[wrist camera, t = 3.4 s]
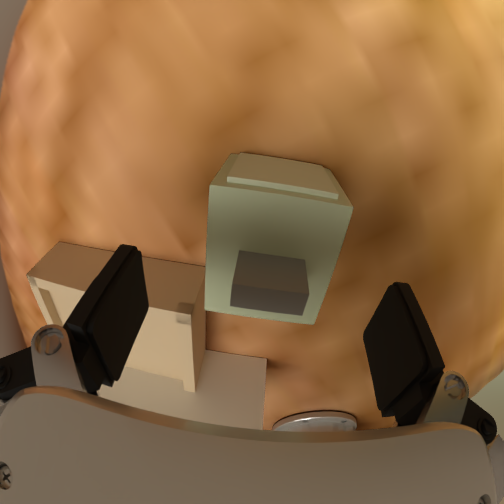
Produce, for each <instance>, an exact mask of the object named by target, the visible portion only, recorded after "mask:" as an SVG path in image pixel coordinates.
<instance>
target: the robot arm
mask: <svg viewBox="0 0 504 504" xmlns="http://www.w3.org/2000/svg"><path fill="white" fill-rule="evenodd" d="M148 309H149V301H148V295H147V289H146V283H145V276H144V269H143V262H142V254H141V251H138V250H137V247H136V246H131V245H124V244H122V245H120V246H119V247H118V249H117V250H116V251H115V253H114V254H113V255H112V257H111V258H110V259H109V261H108V262H107V263H106V265H105V266H104V267H103V269H102V270H101V272H100V273H99V274H98V276H96V278H95V279H94V280H93V281H92V283H91V284H90V286H89V287H88V288H87V290H86V291H85V293H84V294H83V296H82V297H81V299H80V300H79V302H78V303H77V305H76V306H75V308H74V309H73V311H72V313H71V314H70V316H69V317H68V319H67V320H66V322H65V324H64V325H63V327H62V326H59V325H56V324H50V325H46V326H43V327H41V328H40V329H39V330H38V331H36V333H35V334H34V336H33V338H32V341H31V347H28V348H26V349H23V350H21V351H18V352H16V353H14V354H11V355H8V356H6V357H3V358H1V359H0V504H499V503H500V501H501V500H502V498H503V497H504V441H503V440H502V438H501V437H500V435H497V436H496V433H497V426H496V422H495V420H494V418H493V417H492V416H491V415H490V414H489V413H487V412H486V411H485V410H483V409H482V408H481V407H479V406H478V405H477V404H476V403H474V402H473V401H472V400H470V399H469V398H468V396H469V387H468V384H467V382H466V380H465V379H464V377H463V376H462V375H460V374H459V373H457V372H455V371H447V372H445V373H444V372H443V369H444V368H445V365H444V362H443V360H442V357H441V354H440V352H439V349H438V347H437V344H436V342H435V339H434V337H433V335H432V332H431V330H430V328H429V325H428V323H427V321H426V319H425V316H424V314H423V312H422V310H421V308H420V306H419V304H418V301H417V299H416V297H415V295H414V293H413V291H412V289H411V287H410V285H409V284H407V283H400V282H394V283H393V284H392V285H390V286H389V287H388V288H387V290H386V292H385V294H384V296H383V298H382V300H381V302H380V304H379V306H378V308H377V309H376V311H375V313H374V315H373V317H372V318H371V320H370V322H369V324H368V325H367V327H366V329H365V331H364V334H363V340H364V344H365V349H366V353H367V357H368V362H369V366H370V371H371V376H372V381H373V386H374V391H375V396H376V401H377V406H378V409H379V410H381V413H382V417H389V416H394V415H395V419H396V421H395V422H394V424H393V426H392V427H391V428H382V429H371V430H358V431H355V430H356V427H357V423H356V419H355V418H354V417H353V416H352V415H349V414H347V413H342V412H334V411H321V412H310V413H303V414H298V415H294V416H290V417H287V418H285V419H282V420H280V421H278V422H277V423H276V424H275V425H274V426H273V428H272V430H259V429H248V428H239V427H231V426H223V425H216V424H210V423H204V422H198V421H192V420H187V419H182V418H177V417H173V416H168V415H164V414H160V413H156V412H152V411H148V410H144V409H140V408H136V407H132V406H129V405H125V404H122V403H118V402H115V401H112V400H108V399H105V398H102V397H101V396H100V393H99V390H100V388H101V385H102V384H103V385H106V386H109V387H112V386H113V384H114V381H118V380H119V379H120V376H121V374H122V371H123V369H124V366H125V364H126V361H127V359H128V356H129V354H130V352H131V349H132V347H133V344H134V342H135V340H136V337H137V335H138V333H139V330H140V328H141V326H142V323H143V321H144V319H145V317H146V314H147V312H148Z"/></svg>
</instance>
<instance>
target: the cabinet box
mask: <svg viewBox="0 0 504 504" xmlns="http://www.w3.org/2000/svg"><path fill="white" fill-rule="evenodd" d="M353 208H354V207H353V206H352V204H351V202H350V201H349V199H348V197H347V196H346V194H345V193H344V191H343V189H342V188H341V186H340V185H339V183H338V181H337V180H336V178H335V177H334V175H333V174H332V172H331V171H330V169H326V168H323V166H322V165H317V164H311V163H306V162H300V161H295V160H289V159H283V158H276V157H270V156H263V155H256V154H248V153H240V154H230V156H229V157H228V158H227V160H226V161H225V163H224V164H223V166H222V167H221V169H220V170H219V172H218V173H217V175H216V176H215V178H214V179H213V181H212V182H211V184H210V189H209V205H208V222H207V243H206V269H205V310H207V311H213V312H220V313H226V314H233V315H239V316H246V317H253V318H261V319H268V320H276V321H284V322H293V323H302V324H312V325H314V323H315V320H316V318H317V315H318V312H319V310H320V307H321V304H322V302H323V299H324V296H325V294H326V291H327V288H328V285H329V283H330V280H331V277H332V274H333V271H334V268H335V265H336V262H337V259H338V256H339V253H340V250H341V247H342V244H343V241H344V238H345V234H346V231H347V228H348V225H349V221H350V218H351V215H352V211H353Z"/></svg>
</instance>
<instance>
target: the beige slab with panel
mask: <svg viewBox="0 0 504 504" xmlns="http://www.w3.org/2000/svg"><path fill="white" fill-rule="evenodd" d="M114 253H115V252H112V251H107V250H101V249H95V248H90V247H84V246H79V245H73V244H68V243H63V242H58V243H57V244H56V245H55V246H54V247H53V248H52V249H51V250H50V251H49V252H48V253H47V254H46V255H45V256H44V257H43V258H42V259H41V260H40V261H39V262H38V263H37V264H36V265H35V266H34V267H33V268H32V269H31V270H30V271H29V272H28V273H27V274H26V275H27V278H28V280H29V283H30V286H31V288H32V291H33V293H34V295H35V298H36V300H37V302H38V305H39V307H40V309H41V311H42V314H43V316H44V318H45V320H46V322H47V324H48V325H50V324H56V325H59V326H62V327H63V325H64V324H65V322H66V320H67V319H68V317H69V316H70V314H71V313H72V311H73V309H74V308H75V306H76V305H77V303H78V302H79V300H80V299H81V297H82V296H83V294H84V293H85V291H86V290H87V288H88V287H89V286H90V284H91V283H92V281H93V280H94V279H95V278H96V276H98V274H99V273H100V272H101V270H102V269H103V267H104V266H105V265H106V263H107V262H108V261H109V259H110V258H111V257H112V255H113V254H114ZM142 262H143V269H144V276H145V283H146V289H147V295H148V301H149V309H148V312H147V314H146V317H145V319H144V321H143V323H142V326H141V328H140V330H139V333H138V335H137V337H136V340H135V342H134V344H133V347H132V349H131V352H130V354H129V356H128V359H127V361H126V364H125V366H124V369H123V371H122V374H121V376H120V379H119V380H118V381H114V384H113V386H112V387H109V386H106V385H103V384H102V385H101V388H100V390H99V393H100V396H101V397H102V398H105V399H108V400H112V401H115V402H118V403H122V404H125V405H129V406H132V407H136V408H140V409H144V410H148V411H152V412H156V413H160V414H164V415H168V416H173V417H177V418H182V419H187V420H192V421H198V422H204V423H210V424H216V425H223V426H231V427H239V428H248V429H259V430H262V428H263V414H264V398H265V382H266V365H267V359H266V358H258V357H250V356H243V355H236V354H229V353H223V352H217V351H211V350H206V310H205V269H206V267H203V266H197V265H191V264H184V263H178V262H172V261H166V260H160V259H153V258H147V257H142Z"/></svg>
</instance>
